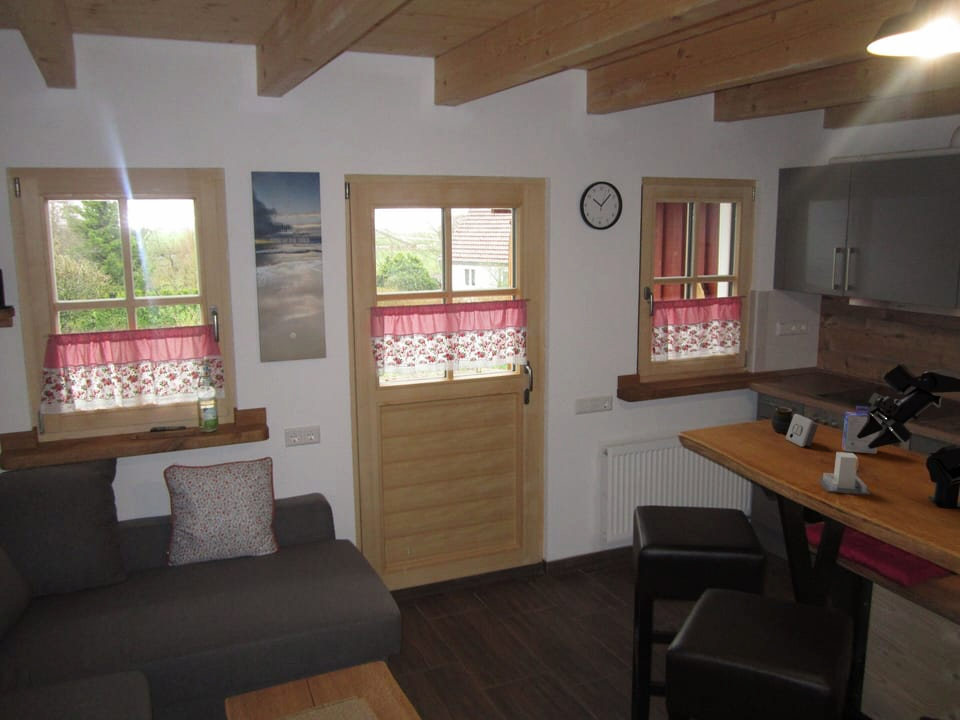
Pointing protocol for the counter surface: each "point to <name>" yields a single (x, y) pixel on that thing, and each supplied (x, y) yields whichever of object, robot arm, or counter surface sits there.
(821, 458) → the counter surface
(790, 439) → the electrical switch
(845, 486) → the block
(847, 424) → the ink cartridge box
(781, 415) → the mate gourd
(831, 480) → the rail cradle
